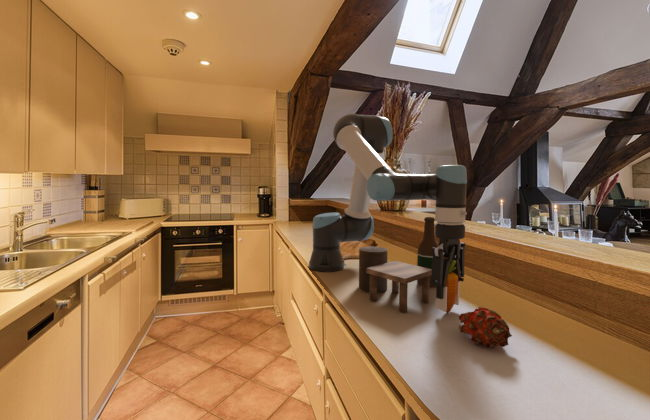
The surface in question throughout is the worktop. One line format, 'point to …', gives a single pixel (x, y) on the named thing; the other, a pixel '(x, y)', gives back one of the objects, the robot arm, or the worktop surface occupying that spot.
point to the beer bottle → (427, 248)
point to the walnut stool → (400, 280)
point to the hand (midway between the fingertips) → (447, 306)
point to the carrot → (451, 286)
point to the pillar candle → (369, 259)
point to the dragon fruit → (485, 327)
